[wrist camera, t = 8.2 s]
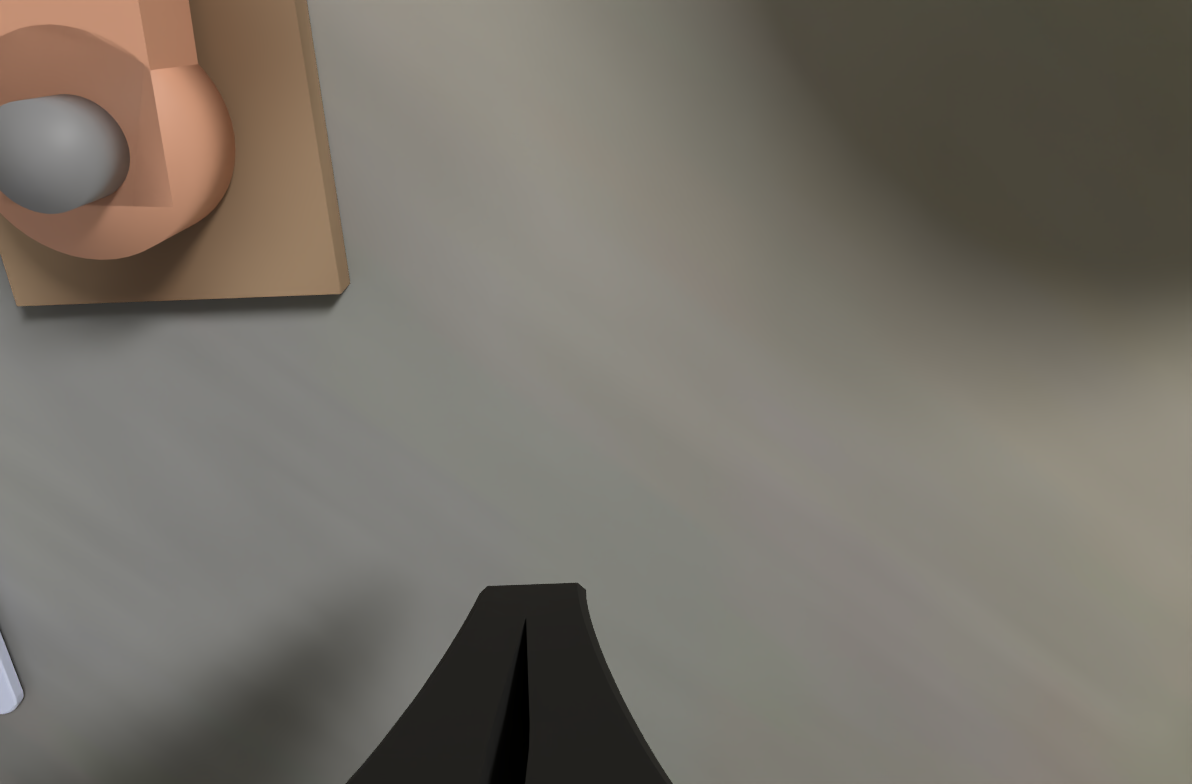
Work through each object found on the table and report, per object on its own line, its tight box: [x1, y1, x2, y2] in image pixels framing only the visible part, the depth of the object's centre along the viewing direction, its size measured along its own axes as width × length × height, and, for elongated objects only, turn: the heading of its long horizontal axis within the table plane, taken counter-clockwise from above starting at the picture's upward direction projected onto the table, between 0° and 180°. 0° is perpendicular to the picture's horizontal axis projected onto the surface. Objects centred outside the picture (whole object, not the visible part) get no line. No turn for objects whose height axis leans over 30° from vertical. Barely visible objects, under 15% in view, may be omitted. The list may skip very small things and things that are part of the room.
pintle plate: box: [0, 0, 350, 306], centre depth 18 cm, size 7×7×1 cm
